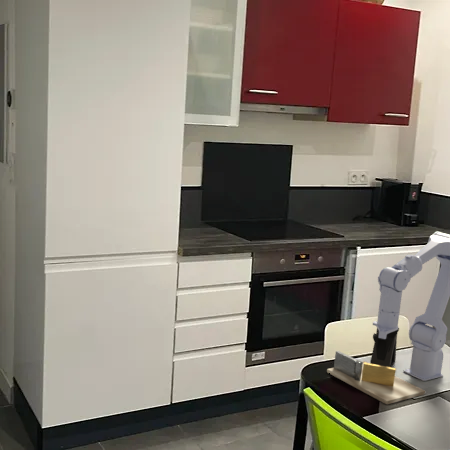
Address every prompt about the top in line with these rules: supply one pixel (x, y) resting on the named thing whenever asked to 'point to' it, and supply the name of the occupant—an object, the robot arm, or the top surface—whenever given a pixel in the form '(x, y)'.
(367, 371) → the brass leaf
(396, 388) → the maple board
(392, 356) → the door stopper
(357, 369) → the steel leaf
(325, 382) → the top surface
